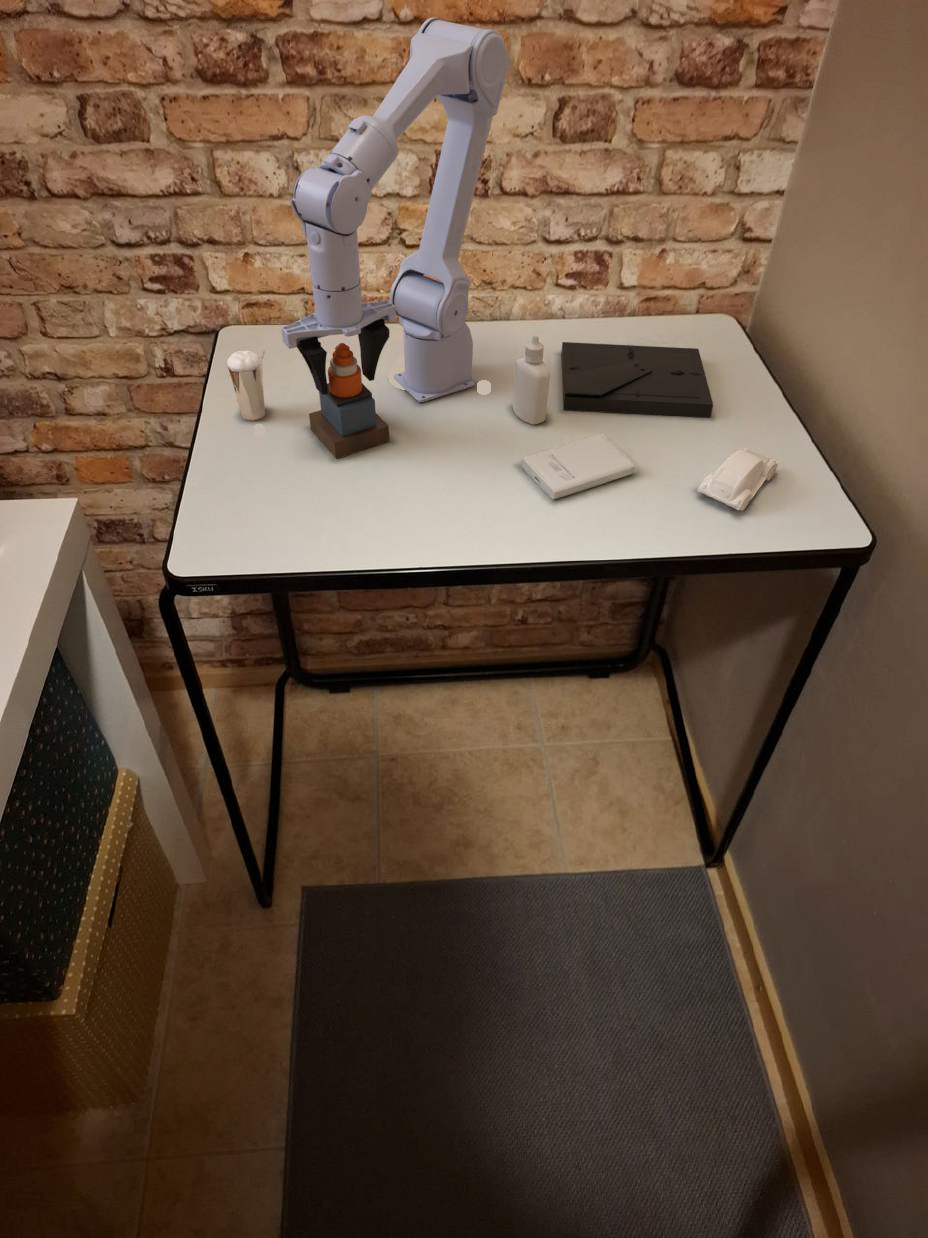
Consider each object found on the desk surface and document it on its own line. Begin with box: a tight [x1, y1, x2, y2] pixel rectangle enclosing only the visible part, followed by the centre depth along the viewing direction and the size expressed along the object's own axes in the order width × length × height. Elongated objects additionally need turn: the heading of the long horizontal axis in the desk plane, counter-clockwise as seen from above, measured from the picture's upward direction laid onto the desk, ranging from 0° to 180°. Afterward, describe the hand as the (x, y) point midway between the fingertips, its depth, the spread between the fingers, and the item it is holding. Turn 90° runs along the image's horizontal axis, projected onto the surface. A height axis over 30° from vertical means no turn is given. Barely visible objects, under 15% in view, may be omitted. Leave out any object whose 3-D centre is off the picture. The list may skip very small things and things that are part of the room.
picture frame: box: [560, 341, 714, 418], centre depth 126 cm, size 16×3×21 cm
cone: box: [326, 342, 373, 407], centre depth 109 cm, size 5×5×7 cm
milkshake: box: [226, 350, 266, 421], centre depth 116 cm, size 4×5×10 cm
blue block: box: [318, 391, 377, 437], centre depth 113 cm, size 5×6×4 cm
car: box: [696, 447, 779, 512], centre depth 108 cm, size 12×6×5 cm, turn 140°
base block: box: [308, 409, 391, 460], centre depth 115 cm, size 8×8×2 cm
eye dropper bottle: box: [511, 333, 551, 425], centre depth 116 cm, size 4×6×12 cm
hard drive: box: [520, 433, 637, 500], centre depth 111 cm, size 2×8×12 cm
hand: (345, 383), depth 111 cm, fingers open, 6 cm apart
